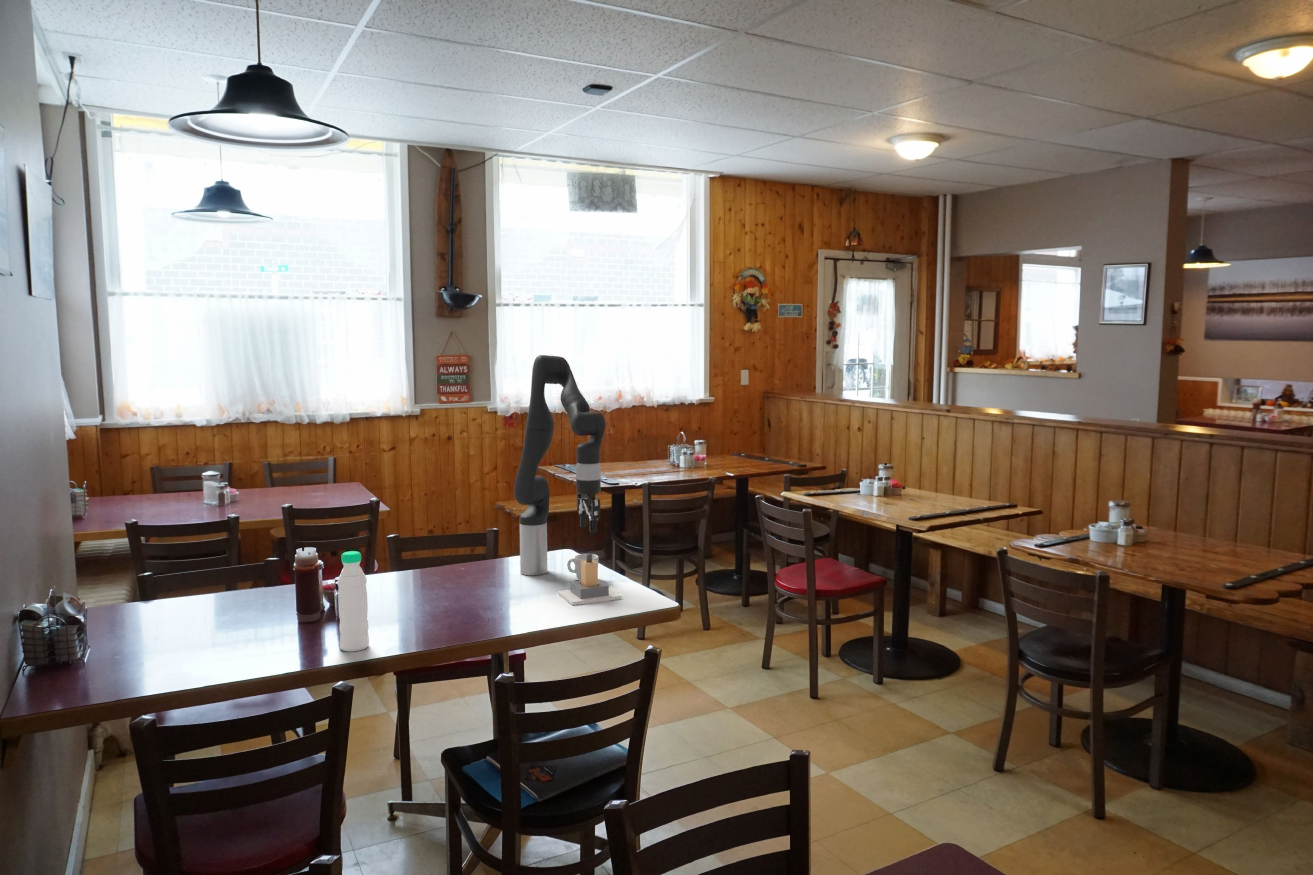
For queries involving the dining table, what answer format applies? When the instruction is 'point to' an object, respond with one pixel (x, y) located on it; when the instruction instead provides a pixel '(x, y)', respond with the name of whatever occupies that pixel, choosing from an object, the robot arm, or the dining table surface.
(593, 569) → the light wood tall block
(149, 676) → the dining table surface
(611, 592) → the socket
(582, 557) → the cup
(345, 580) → the water bottle
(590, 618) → the dining table surface
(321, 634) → the dining table surface
